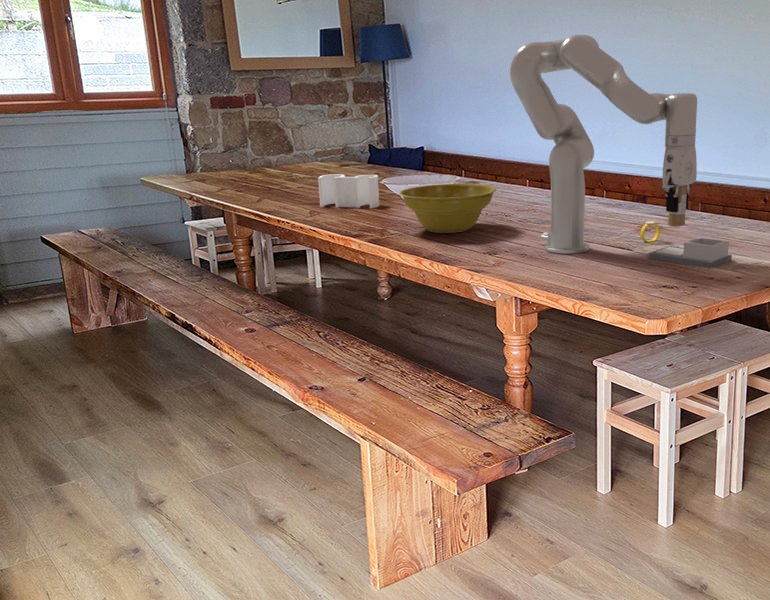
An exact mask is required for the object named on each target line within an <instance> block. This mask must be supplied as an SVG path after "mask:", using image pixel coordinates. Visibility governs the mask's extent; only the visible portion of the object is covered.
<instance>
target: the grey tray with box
mask: <svg viewBox="0 0 770 600" xmlns="http://www.w3.org/2000/svg"><path fill="white" fill-rule="evenodd" d="M729 244H730V241H729V240H726V239H719V238H717V239H716V238H711V237H702V236H699V237H696V238H693V239H690V240H687V241H684V242H683V247H679V246H672V245H668V246H665V247H663V248H660V249H657V250H654V251H651V252H648V258H647V259H650V260H655V261H661V262H667V263H668V262H669V263H675V264H681V265H687V266H694V267H699V268H707V269H714V268H715V267H718V266H720V265H723V264H726V263H728V262H731V261H732V259H733V258H732V257H733V255H732V254H730V253H729Z"/></svg>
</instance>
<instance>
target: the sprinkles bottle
mask: <svg viewBox="0 0 770 600" xmlns="http://www.w3.org/2000/svg"><path fill="white" fill-rule="evenodd" d="M671 185H676V184H674V183H671ZM672 189H673V190H674V188H672ZM686 189H687V185H684V186H679V188H678V195H677V197H679V203H678V212H667V213H668V218H667V220H668V221H667V225H668V226H670V227H675V228H676V227H677V228H679V227H683V226H685V225H686V212H687V209H686V191H687V190H686Z"/></svg>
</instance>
